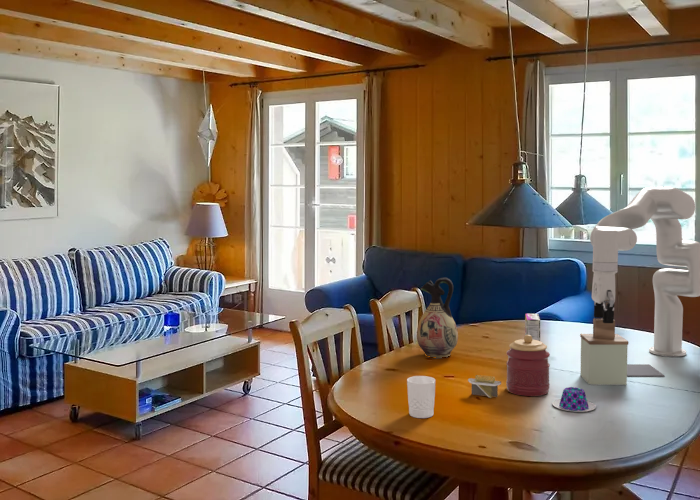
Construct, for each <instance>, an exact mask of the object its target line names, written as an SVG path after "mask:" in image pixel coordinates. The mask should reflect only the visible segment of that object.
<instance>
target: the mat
mask: <svg viewBox="0 0 700 500" xmlns="http://www.w3.org/2000/svg"><path fill="white" fill-rule="evenodd" d="M628 377H631V378H633V377H638V378H639V377H643V378H645V377H647V378H648V377H649V378H650V377H651V378H655V377H657V378H661V377H662V378H664V377H665V374H663V373H662V372H660V371H659V370H658V369H657V368H655V367H654V366H652V365H651V364H645V363H643V364H640V363H639V364H638V363H637V364H636V363H635V364H630V363H629V364H628V363H627V378H628Z"/></svg>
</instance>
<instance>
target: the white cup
mask: <svg viewBox="0 0 700 500" xmlns="http://www.w3.org/2000/svg"><path fill="white" fill-rule="evenodd" d="M406 385H407V386H406V387H407V401H408V413H409V416H411V417H412V418H417V419H427V418H432V417H433V416H434V408H435V397H436V379H435V378H434V377H432V376H426V375H413V376H410V377H407V379H406Z"/></svg>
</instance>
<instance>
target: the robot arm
mask: <svg viewBox="0 0 700 500" xmlns="http://www.w3.org/2000/svg"><path fill="white" fill-rule="evenodd" d="M695 211H696V203H695V200H694V199H693V197H692V196H691V195H690V194H688V193H687V192H685V191H683V190H681V189H679V188H676V187H672V186H664V187H663V186H657V187H655V186H654V187H653V186H650V187H648V186H647V187H645V188H642V189H640V190H639V191H638V192H637V193H636V195H635V196H634V197H633V198H632V199H631V201H630V202H629V203H628V204H627V205H626V207H624V208H621V209H618V210H617V211H615V212H612V213H610V214H607V215H606V216H603V218H601V219H600V220H599V221H598V222H597V223H596V224H595V226H594V227H593V228H592V230H591V233H590V238H589V239H590V240H589V241H590V245H591V246H592V272H593V275H592V288H591V299H592V301H593V317H594V318H603V323H614V320H615V318H614V317H615V316H614V315H615V302H616V274H617V273H618V270H619V268H618V264H619V263H618V262H619V251H620V252H621V251H622V252H623V251H630V250H632V249H633V248H634V247H635V246H636V244H637V242H638V237H637V234H636V232H635V231H634V230H635V229H636V230H637V229H639V228H642V227H644V226H646V225H647V223H648V222H649V221H650V220H651V221H652V223H653V225H654V226H655V233H656V234H655V235H656V236H655V238H656V241H655V242H656V259H657V262H658V263H659V264H661V265H663V266H671V267H680V268H681V267H684V268H687V269H679V268H677V269H676V268H661V269H660V268H659V269H658V270H656V271H655V272H654V273H653V276H652V286H653V292H654V325H653V326H654V329H653V332H654V333H653V346H650V347H649V348H648V351H649V352H650V354H654V355H656V356H661V357H677V358H678V357H683V356H684V357H685V356H687V351H686V349H684V348H683V346H682V345H683V325H684V324H683V322H684V321H683V320H684V319H683V317H684V306H683V304H682V302H681V299H680V298H679V296H681V297H689V298H696V297H698V298H699V297H700V242H699V241H696V240H684V239H683V233H682V232H683V231H682V229H683V228H682V225H681V222H680V220H689V219H691V218H692V217H693V215H694V213H695Z"/></svg>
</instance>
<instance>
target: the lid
mask: <svg viewBox="0 0 700 500" xmlns="http://www.w3.org/2000/svg"><path fill="white" fill-rule="evenodd" d="M592 320H593V321H592V326H593V327H592V333H580V335H579V336H580V339H581V338H582V339H583V340H585V341H586V342H587V343H588V344H589V345H629V341H628V340H627V339H625V338H624V337H623V336H621V335H619V334H618V333H616V320H615V319H614V323H603V318H595V317H594V318H593V319H592Z"/></svg>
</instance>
